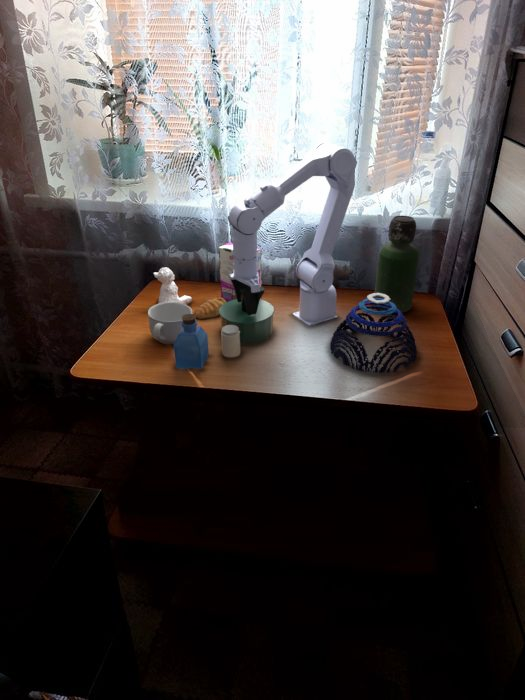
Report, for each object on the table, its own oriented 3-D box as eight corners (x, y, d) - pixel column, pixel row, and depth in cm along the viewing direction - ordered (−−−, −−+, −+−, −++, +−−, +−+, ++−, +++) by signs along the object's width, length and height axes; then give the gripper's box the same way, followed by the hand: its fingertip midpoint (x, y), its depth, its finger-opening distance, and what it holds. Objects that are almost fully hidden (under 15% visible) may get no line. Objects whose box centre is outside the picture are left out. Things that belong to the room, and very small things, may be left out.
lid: (256, 297, 144) (256, 278, 141) (284, 317, 133) (284, 297, 131) (210, 309, 138) (208, 289, 135) (235, 332, 128) (234, 310, 125)
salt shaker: (235, 347, 132) (234, 322, 128) (243, 356, 128) (243, 330, 125) (219, 352, 130) (217, 327, 126) (227, 361, 127) (226, 335, 123)
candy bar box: (262, 303, 153) (262, 248, 144) (253, 310, 149) (252, 254, 140) (230, 295, 158) (228, 241, 149) (220, 301, 154) (217, 246, 146)
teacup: (167, 325, 142) (164, 297, 138) (202, 333, 138) (200, 305, 134) (134, 349, 131) (130, 320, 127) (171, 359, 127) (168, 330, 123)
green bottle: (371, 297, 155) (381, 212, 143) (408, 298, 155) (421, 212, 142) (375, 314, 147) (385, 224, 134) (414, 315, 146) (427, 225, 133)
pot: (256, 316, 146) (256, 296, 143) (282, 336, 136) (282, 315, 133) (213, 328, 140) (212, 307, 137) (236, 350, 131) (236, 328, 128)
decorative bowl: (313, 344, 133) (316, 291, 125) (376, 324, 141) (382, 273, 134) (366, 384, 118) (372, 326, 111) (432, 359, 127) (442, 304, 119)
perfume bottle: (201, 370, 123) (198, 324, 117) (175, 368, 124) (171, 322, 118) (208, 356, 128) (205, 311, 122) (184, 354, 129) (179, 309, 123)
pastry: (202, 323, 143) (201, 310, 141) (189, 315, 147) (187, 302, 145) (231, 313, 148) (230, 300, 146) (217, 305, 152) (216, 292, 150)
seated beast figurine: (193, 301, 154) (189, 262, 148) (181, 315, 147) (177, 274, 141) (162, 298, 156) (157, 259, 150) (149, 311, 149) (144, 271, 143)
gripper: (220, 248, 132) (223, 298, 139) (238, 269, 121) (240, 322, 128) (247, 244, 134) (248, 294, 141) (268, 265, 123) (268, 317, 130)
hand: (246, 307), depth 135 cm, fingers open, 7 cm apart
